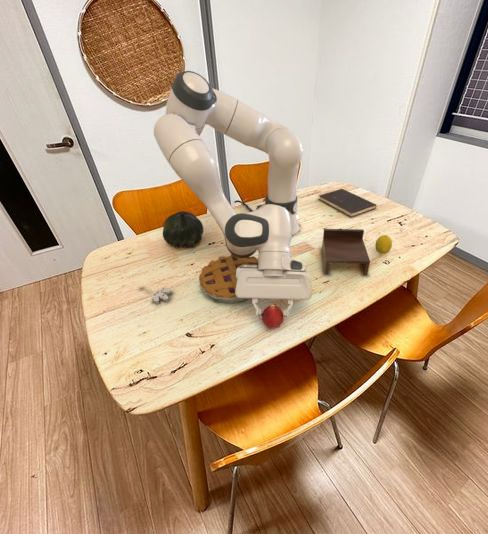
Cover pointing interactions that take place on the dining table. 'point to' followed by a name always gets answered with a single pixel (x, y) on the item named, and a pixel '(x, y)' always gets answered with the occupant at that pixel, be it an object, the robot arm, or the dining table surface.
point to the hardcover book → (347, 202)
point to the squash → (182, 230)
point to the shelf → (344, 248)
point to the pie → (223, 277)
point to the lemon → (383, 244)
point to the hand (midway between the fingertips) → (272, 316)
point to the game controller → (160, 295)
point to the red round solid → (272, 316)
